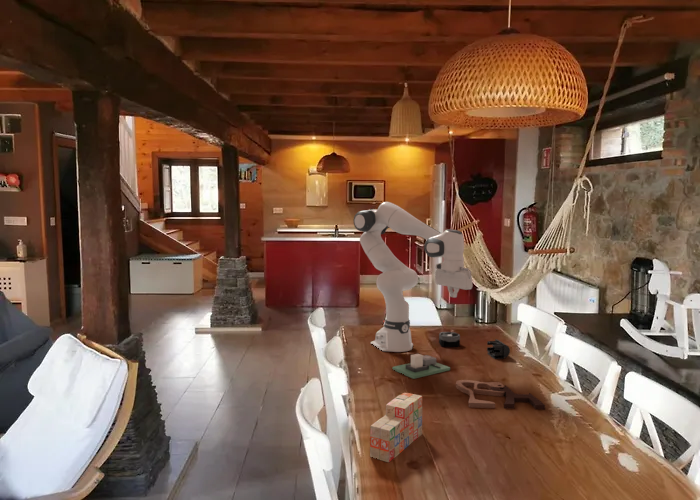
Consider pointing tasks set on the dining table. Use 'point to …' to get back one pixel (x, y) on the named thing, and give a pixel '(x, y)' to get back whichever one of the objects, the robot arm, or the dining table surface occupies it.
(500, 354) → the end cap
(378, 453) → the stack of blocks
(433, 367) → the circuit board
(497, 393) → the wood carving
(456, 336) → the cpu cooler
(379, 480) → the dining table surface
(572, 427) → the dining table surface
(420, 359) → the plug
